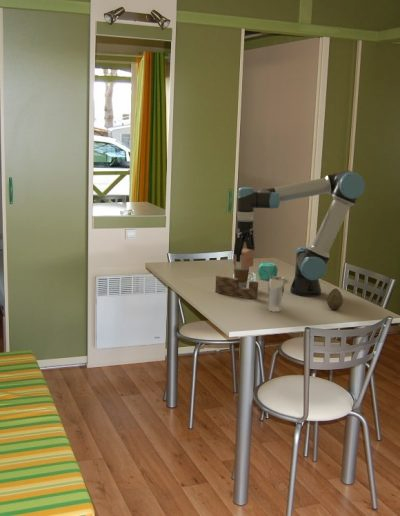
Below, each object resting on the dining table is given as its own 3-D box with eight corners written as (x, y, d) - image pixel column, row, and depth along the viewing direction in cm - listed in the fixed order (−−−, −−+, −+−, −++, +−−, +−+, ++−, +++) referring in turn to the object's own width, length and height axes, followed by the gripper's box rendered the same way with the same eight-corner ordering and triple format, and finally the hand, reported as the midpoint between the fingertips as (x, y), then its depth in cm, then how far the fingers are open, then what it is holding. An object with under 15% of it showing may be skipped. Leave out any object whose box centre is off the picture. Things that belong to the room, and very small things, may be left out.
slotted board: (257, 298, 331) (258, 282, 329) (255, 299, 329) (256, 283, 327) (217, 291, 342) (218, 275, 340) (215, 291, 340) (216, 276, 338)
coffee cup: (247, 290, 345) (249, 261, 342) (231, 289, 347) (232, 260, 344) (249, 286, 353) (251, 258, 350) (233, 285, 355) (235, 257, 352)
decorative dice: (270, 281, 368) (271, 266, 367) (257, 278, 373) (258, 264, 371) (277, 278, 375) (278, 264, 373) (264, 276, 379) (265, 262, 378)
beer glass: (272, 307, 316) (274, 275, 313) (285, 310, 311) (287, 278, 308) (264, 310, 310) (266, 277, 307) (277, 313, 306) (279, 280, 303)
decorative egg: (324, 307, 319) (325, 286, 317) (339, 307, 320) (341, 286, 318) (328, 311, 312) (330, 290, 310) (343, 311, 313) (345, 290, 311)
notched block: (243, 264, 335) (244, 248, 333) (253, 265, 332) (253, 249, 331) (234, 268, 326) (234, 251, 325) (243, 269, 324) (244, 252, 322)
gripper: (248, 216, 336) (247, 261, 341) (227, 222, 317) (225, 269, 322) (262, 218, 333) (261, 263, 337) (241, 223, 314) (240, 271, 318)
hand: (243, 266), depth 329 cm, fingers closed on notched block, 10 cm apart
